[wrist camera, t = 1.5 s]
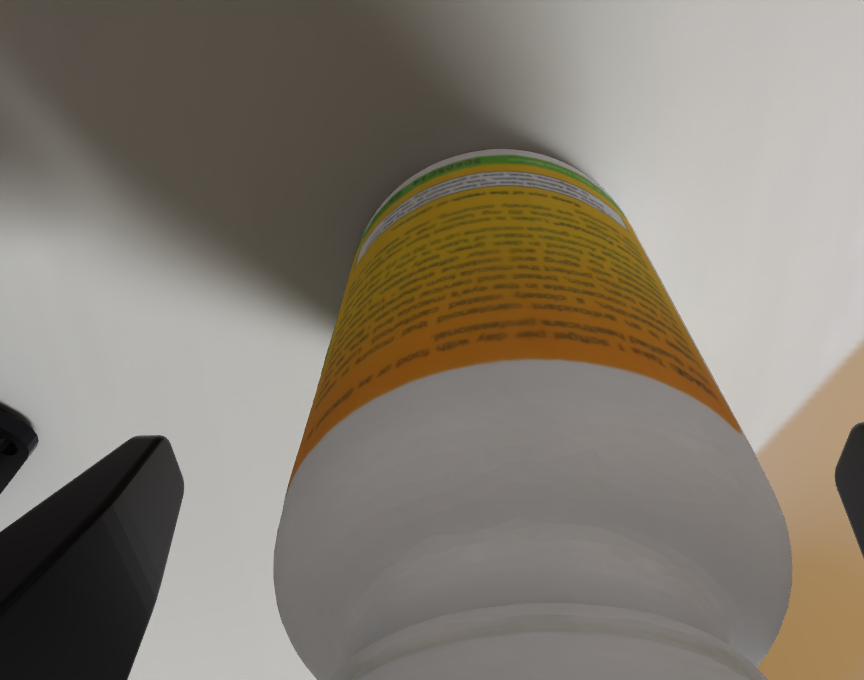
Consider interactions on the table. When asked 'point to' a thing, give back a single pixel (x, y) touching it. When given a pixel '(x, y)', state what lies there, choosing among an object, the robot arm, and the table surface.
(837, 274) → the table surface
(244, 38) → the table surface
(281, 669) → the table surface
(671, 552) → the supplement bottle
